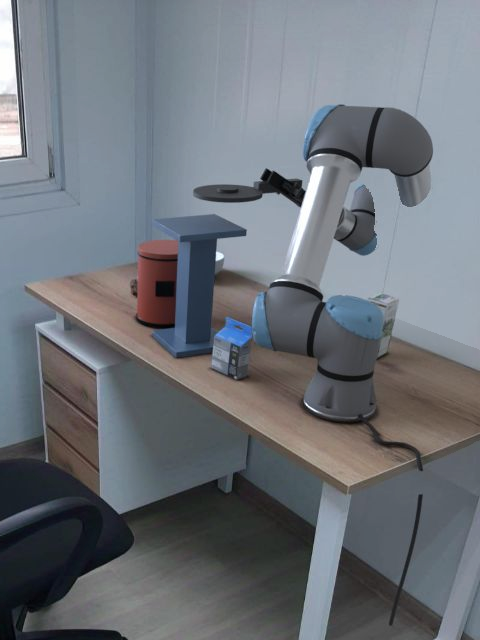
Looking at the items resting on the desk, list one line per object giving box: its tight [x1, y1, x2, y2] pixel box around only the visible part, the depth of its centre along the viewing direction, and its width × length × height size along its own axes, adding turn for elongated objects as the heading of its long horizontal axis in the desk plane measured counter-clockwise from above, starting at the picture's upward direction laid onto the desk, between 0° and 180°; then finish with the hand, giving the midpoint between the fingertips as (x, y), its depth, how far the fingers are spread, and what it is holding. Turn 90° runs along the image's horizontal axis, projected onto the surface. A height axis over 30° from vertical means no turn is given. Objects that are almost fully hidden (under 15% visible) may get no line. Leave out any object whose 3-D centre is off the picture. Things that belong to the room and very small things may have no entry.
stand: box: [151, 213, 248, 359], centre depth 185 cm, size 17×17×30 cm
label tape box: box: [210, 316, 253, 380], centre depth 173 cm, size 9×4×12 cm, turn 37°
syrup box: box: [366, 293, 400, 360], centre depth 183 cm, size 6×6×14 cm
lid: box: [192, 178, 304, 204], centre depth 177 cm, size 28×16×2 cm, turn 110°
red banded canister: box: [135, 239, 178, 330], centre depth 202 cm, size 16×16×20 cm
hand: (267, 175), depth 176 cm, fingers closed on lid, 3 cm apart
